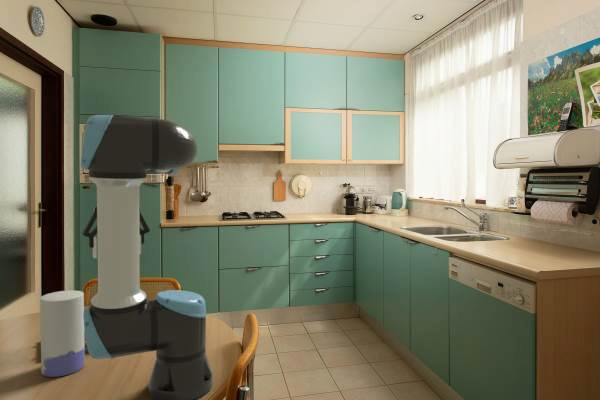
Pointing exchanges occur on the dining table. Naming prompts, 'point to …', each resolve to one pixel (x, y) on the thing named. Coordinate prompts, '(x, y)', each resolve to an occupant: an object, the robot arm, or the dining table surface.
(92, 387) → the dining table surface
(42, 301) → the container
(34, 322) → the dining table surface
